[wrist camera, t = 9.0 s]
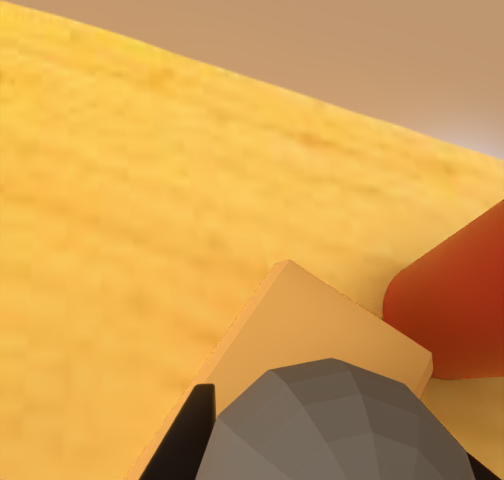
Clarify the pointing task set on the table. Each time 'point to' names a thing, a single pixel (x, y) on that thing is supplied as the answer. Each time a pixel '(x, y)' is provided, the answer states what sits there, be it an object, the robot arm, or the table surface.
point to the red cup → (456, 300)
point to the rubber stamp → (317, 394)
